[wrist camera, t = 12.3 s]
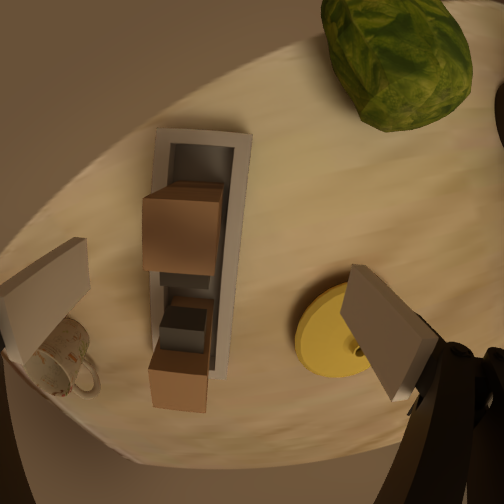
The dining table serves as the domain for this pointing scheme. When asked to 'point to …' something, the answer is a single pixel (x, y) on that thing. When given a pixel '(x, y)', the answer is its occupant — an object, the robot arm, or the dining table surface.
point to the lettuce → (398, 60)
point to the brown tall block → (182, 232)
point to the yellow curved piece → (328, 338)
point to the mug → (62, 361)
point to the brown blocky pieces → (221, 284)
